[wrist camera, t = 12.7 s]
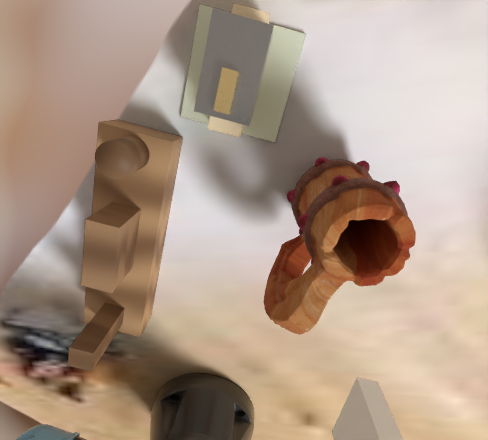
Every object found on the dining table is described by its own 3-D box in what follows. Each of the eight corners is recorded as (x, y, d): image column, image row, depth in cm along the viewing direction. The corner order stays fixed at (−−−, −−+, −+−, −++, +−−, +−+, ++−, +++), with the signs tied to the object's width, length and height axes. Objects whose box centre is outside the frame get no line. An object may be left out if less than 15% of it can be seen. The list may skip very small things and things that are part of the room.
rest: (274, 141, 32) (276, 147, 29) (181, 116, 32) (170, 118, 28) (305, 34, 29) (311, 25, 25) (200, 5, 28) (190, -10, 25)
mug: (329, 132, 32) (380, 158, 18) (386, 181, 33) (475, 240, 19) (242, 234, 36) (228, 318, 22) (295, 273, 38) (313, 375, 24)
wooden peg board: (151, 315, 41) (113, 386, 31) (99, 302, 41) (44, 369, 31) (182, 137, 33) (144, 153, 22) (117, 119, 32) (49, 128, 22)
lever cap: (250, 122, 28) (247, 127, 23) (203, 109, 28) (191, 111, 23) (272, 36, 25) (274, 22, 21) (220, 21, 25) (210, 4, 21)
